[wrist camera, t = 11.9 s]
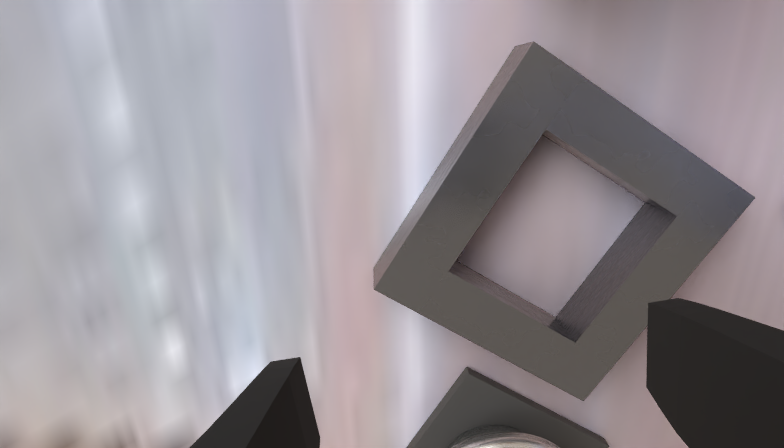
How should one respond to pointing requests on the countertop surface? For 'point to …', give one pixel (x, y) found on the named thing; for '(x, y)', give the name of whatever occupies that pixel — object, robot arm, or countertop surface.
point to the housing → (614, 271)
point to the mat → (497, 416)
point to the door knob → (499, 438)
